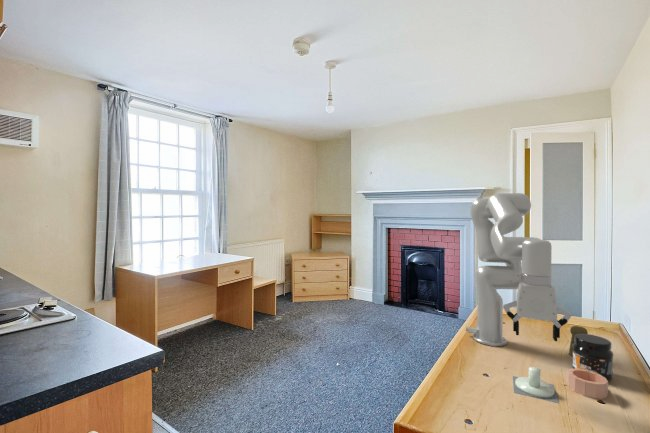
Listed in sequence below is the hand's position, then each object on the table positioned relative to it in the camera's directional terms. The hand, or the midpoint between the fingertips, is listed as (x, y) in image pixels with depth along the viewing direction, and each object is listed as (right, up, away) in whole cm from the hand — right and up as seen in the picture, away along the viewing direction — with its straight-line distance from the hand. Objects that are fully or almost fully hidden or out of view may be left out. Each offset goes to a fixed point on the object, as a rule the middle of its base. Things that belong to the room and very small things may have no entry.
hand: (535, 336), depth 98 cm
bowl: (+16, -17, 0) cm, 23 cm away
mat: (0, -17, +1) cm, 17 cm away
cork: (+32, -17, +24) cm, 44 cm away
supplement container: (+26, -17, +11) cm, 33 cm away
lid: (0, -16, +1) cm, 16 cm away
